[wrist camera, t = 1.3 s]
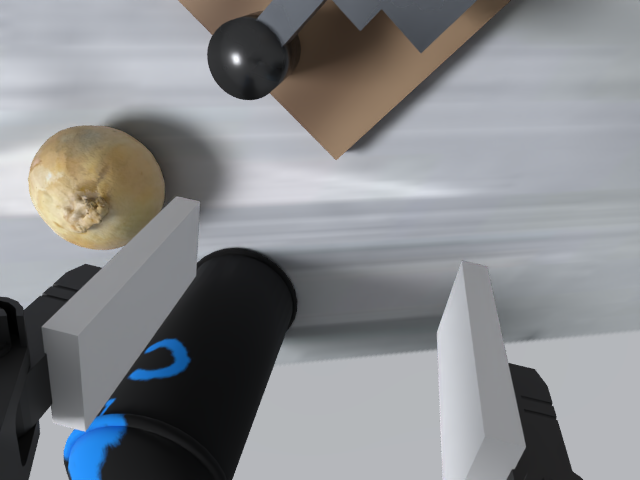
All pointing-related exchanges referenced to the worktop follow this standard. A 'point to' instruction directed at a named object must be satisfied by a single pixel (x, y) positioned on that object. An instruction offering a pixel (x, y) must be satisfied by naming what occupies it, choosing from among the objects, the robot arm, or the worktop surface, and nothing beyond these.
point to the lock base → (350, 65)
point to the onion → (96, 186)
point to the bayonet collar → (284, 44)
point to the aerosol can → (193, 379)
